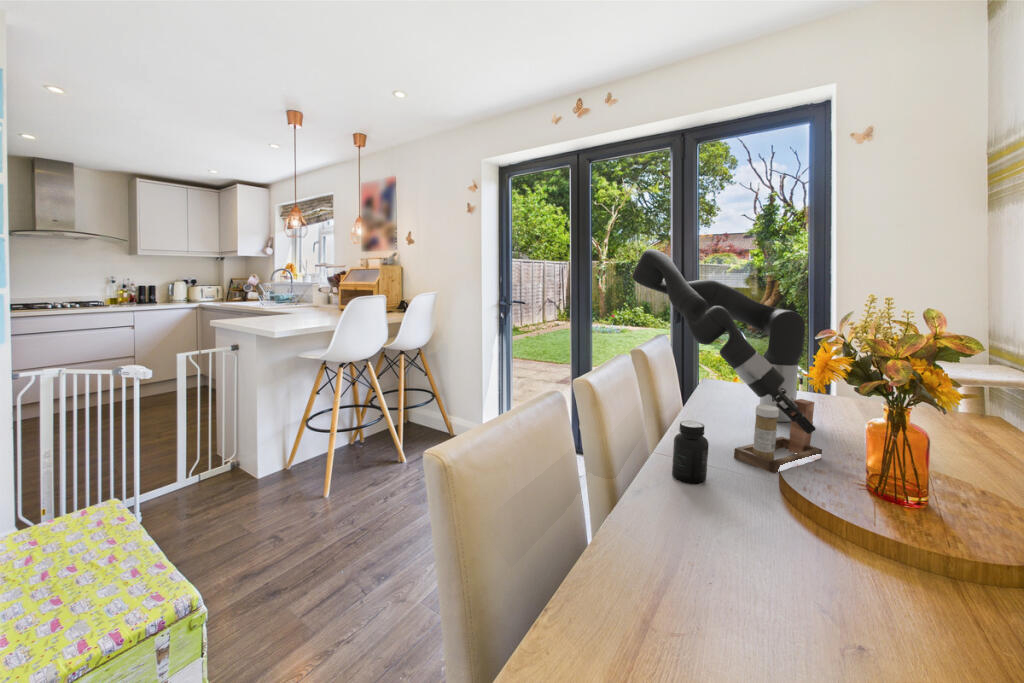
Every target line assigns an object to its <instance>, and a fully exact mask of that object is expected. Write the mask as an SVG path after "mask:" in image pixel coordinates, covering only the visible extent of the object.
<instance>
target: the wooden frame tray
mask: <svg viewBox="0 0 1024 683" xmlns="http://www.w3.org/2000/svg"><path fill="white" fill-rule="evenodd" d="M793 401H794V402H795V403H796V404H797V405H798V409H799V410H800V412H801V413H803V414H804V416H805V417H806V418H807V419H808V420H809V421H810V422H811V424H812V422H813V423H814V421H813V419H814V410H815V401H812V400H808V399H803V398H799V399H796V400H793ZM796 414H797V413H796V412H795V411H794V412H792V416H794V415H796ZM812 425H813V424H812ZM811 439H812V433H810V434H807V433H806V432H805V431H804V430H803V429H802V428H801V427H800V426H799V424H798V423H797V422H793V421H790V429H789V438H787V437H785V436H778V437H776V443H775V451H776V450H780V449H784V450H788V453H789V452H790V453H792V454H790V455H787V456H783V457H780V458H777V459H774V460H771V459H768V458H765V457H762V456H760V455H757V454H754V453H753V443H750V444H747V445H742V446H738V447H735V448H734V453H733V454H734V455H733V458H734V459H736V460H738V461H739V462H740V461H741V462H744V463H746V464H748V465H750V466H751V465H752V466H753V467H756V468H758V469H761V470H763V471H766V472H768V473H771V474H773V475H774V474H778V473H779V472H778V469H779V467H780V465H783V464H785V463H788V462H792V461H795V460H798V459H802V458H805V457H809V456H812V455H816V454H822V455H823V448H819V447H816V446H813V445H811ZM794 453H797V454H794Z"/></svg>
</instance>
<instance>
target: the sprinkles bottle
mask: <svg viewBox="0 0 1024 683" xmlns="http://www.w3.org/2000/svg"><path fill="white" fill-rule="evenodd" d="M778 414H779V409H778V408H777V407H775V406H771V405H759V404H758V405H756V406H755V425H754V435H753V443H752V444H753V453H754V454H757V455H760V456H762V457H765V458H768V459H771V460H775V452H776V450H775V443H776V438H777V426H778V425H777V424H778V422H777V418H778Z"/></svg>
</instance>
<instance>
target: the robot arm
mask: <svg viewBox="0 0 1024 683" xmlns="http://www.w3.org/2000/svg"><path fill="white" fill-rule="evenodd" d="M632 278H633V280H634V282H636V283H637V284H639V285H640V286H642V287H645V288H647V289H651V290H654V291H656V292H660V293H663V294H666V295H668V298H669V301H670V304H671V305H672V306H673V308H675V310H677V312H678V313H679V314H680V315H681V316H682V317H683V319H684V320H685V321H686V324H687V326H688V329H689V331H690V334H691V336H692V338H693V339H694V340H695V341H696V343H699V344H700V345H705V346H708V345H711V344H713V343H714V342H715V341H716V340H718V339H719V338H721V336H723V335H724V334H725V333H726V332H727V333H728V340H727V341H726V342H725V344H723V346H722V347H721V349H720V350H719V355H720V356H721V358H722V359H723V360H724V361H725V362H726V363H727V364H728V365H729V366H730V367H731V368H732V369H733V370H734V371H735V373H736V374H737V376H738V377H739V378H740V379H741V380H742V381H743V382H744V383H745V385H746V386H748V387H749V389H750V390H751V391H752V392H753V393H754V394H755V395H756V396H757V397H758V398H759V404H758V405H771V406H775V407H777V408H778V409H779V414H778V418H777V423H778V422H779V423H789V422H790V423H791V421H793V422H797V423H798V424H799V426H800V427H801V428H802V429H803V430H804V431H805V432H806V433H807V434H810V433H811V434H813V433H814V432H815V431H816V429H817V428H816V427H815V425H814V421H813V422H812V424H811V422H810V421H809V420H808V419H807V418H806V417H805V416H804V414H803V413H801V412H800V410H799V409H798V405H797V404H796V403H795V402H794V401H793V400H797V395H798V388H797V384H798V373H799V371H798V370H799V361H800V359H801V356H802V355H803V350H804V344H805V335H806V322H805V319H804V317H803V316H802V315H801V314H799V313H798V312H796V311H794V310H789V309H783V308H778V307H773V306H770V305H766V304H764V303H760V302H757V301H756V300H753V299H752V298H750V297H749V296H747V295H746V294H744V293H742V292H741V291H739V290H737V289H735V288H733V287H732V286H730V285H726V284H724V283H721V282H719V281H717V280H714V279H711V278H710V279H708V278H707V279H698V280H691V281H686V279H685V278H684V276H683V274H682V273H681V272H680V270H679V268H678V267H677V266H676V265H675V263H674V262H673V260H672V259H671V258H670V257H669V255H667V254H666V253H664V252H662V251H661V250H657V249H654V248H648V249H646V250H644V252H643V253H642V255H641V257H640V258H639V260H638V262H637V264H636V266H635V269H634V270H633V272H632ZM735 321H738V322H742V323H744V324H746V325H748V326H750V327H752V328H753V329H756V330H758V331H759V332H762V333H763V334H765V335H767V336H769V337H768V345H767V349H766V350H765V352H764V353H763V355H761V353H760V352H758V351H757V349H755V348H754V346H752V344H750V342H749V341H748V340H747V339H746V338H745V337H744V336H743V335H742V333H741V331H740V330H739V328H738V326H737V324H736V322H735ZM794 411H795V412H796V413H797V414H796V415H794V416H792V412H794Z"/></svg>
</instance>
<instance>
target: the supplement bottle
mask: <svg viewBox="0 0 1024 683" xmlns="http://www.w3.org/2000/svg"><path fill="white" fill-rule="evenodd" d="M678 430H679V431H678V432H679V433H677V434H676V435H675V436H674V437H673V446H672V447H673V448H672V449H673V450H672V451H673V452H672V465H671V467H672V468H671V476H672V478H674V479H675V480H676V481H678V482H679V483H683V484H687V485H694V486H695V485H696V486H697V485H702V484H703V483H705V482H706V481H707V473H708V461H709V460H708V458H709V446H710V445H709V440H708V438H707V437H705V436H704V435H705V425H704V423H702V422H699V421H694V420H683V421H680V423H679V428H678Z"/></svg>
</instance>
